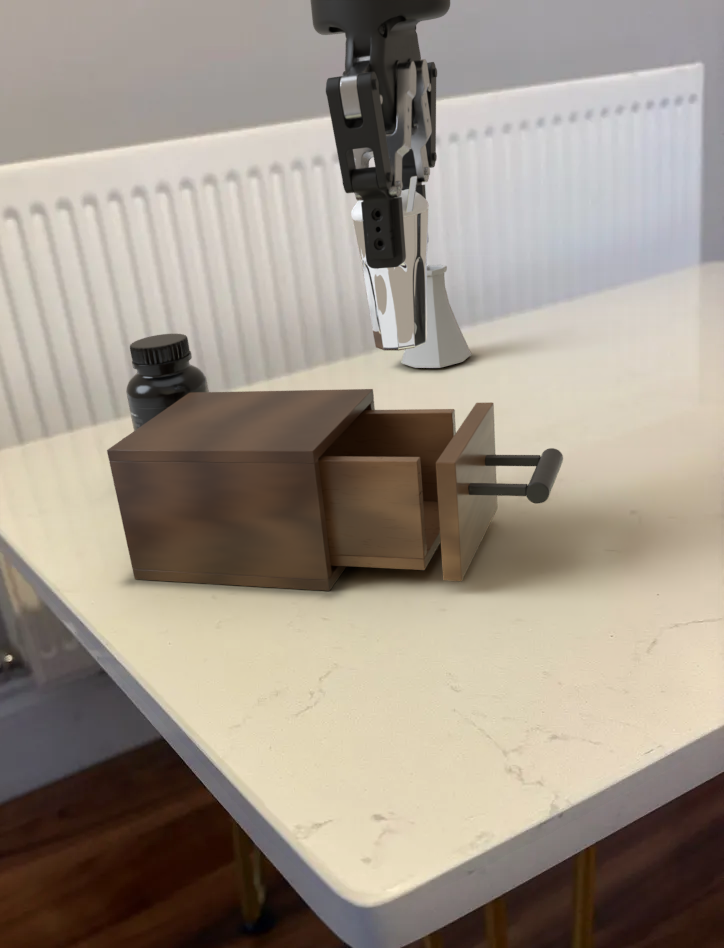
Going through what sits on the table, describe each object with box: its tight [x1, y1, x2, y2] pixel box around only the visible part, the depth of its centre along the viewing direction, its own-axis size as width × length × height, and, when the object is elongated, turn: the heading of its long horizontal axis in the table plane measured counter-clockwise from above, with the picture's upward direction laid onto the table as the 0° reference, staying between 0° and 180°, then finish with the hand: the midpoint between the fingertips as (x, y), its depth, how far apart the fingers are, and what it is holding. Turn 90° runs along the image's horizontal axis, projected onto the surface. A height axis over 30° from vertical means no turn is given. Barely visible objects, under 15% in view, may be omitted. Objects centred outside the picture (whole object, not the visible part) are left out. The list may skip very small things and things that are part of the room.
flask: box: [400, 264, 472, 369], centre depth 110 cm, size 7×7×10 cm
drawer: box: [318, 402, 564, 582], centre depth 68 cm, size 18×11×8 cm, turn 68°
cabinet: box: [106, 388, 376, 592], centre depth 72 cm, size 15×13×10 cm
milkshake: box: [350, 176, 429, 352], centre depth 62 cm, size 4×5×10 cm
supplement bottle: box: [126, 333, 210, 432], centre depth 87 cm, size 7×7×12 cm
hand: (398, 256), depth 62 cm, fingers closed on milkshake, 4 cm apart
